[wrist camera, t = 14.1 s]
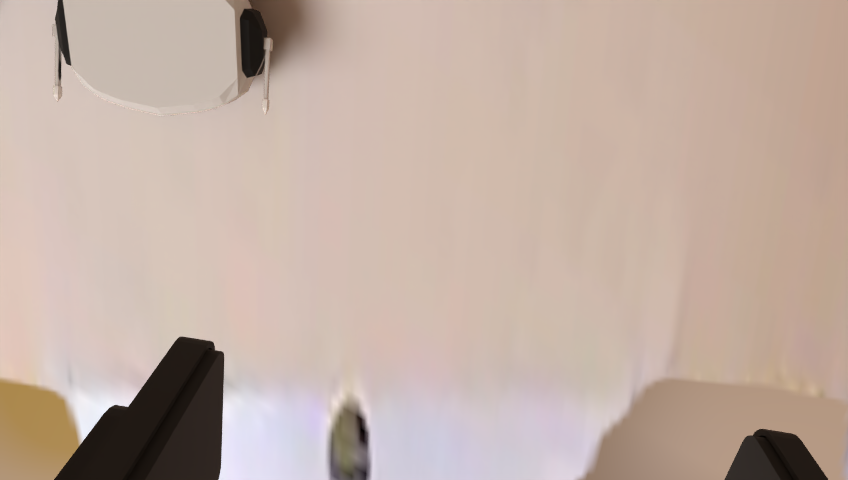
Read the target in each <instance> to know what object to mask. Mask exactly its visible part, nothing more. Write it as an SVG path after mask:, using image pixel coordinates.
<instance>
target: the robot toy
mask: <svg viewBox="0 0 848 480" xmlns="http://www.w3.org/2000/svg"><path fill="white" fill-rule="evenodd" d="M55 21H56V25H54V24H52V36H54V37H55V86H54V85H53V95H54V96H55V98H56V100H57V102H58V100H59V99H60V98H61V96H62V87H61V51H62V53H63V55H64V58H65V61H66V63H67V64H68V65H70V66H72V69H73V71H74V72H75V74H76V75H77V77H78V79H79V80H80V82H81V84H82V85H83V86H84V87H86V88H87V89H88V90H90V91H91V92H92V93H94V94H95V95H96V96H98V97H100V98H102V99H104V100H106V101H108V102H111V103H114V104H116V105H119V106H122V107H125V108H129V109H133V110H138V111H142V112H147V113H151V114H156V115H160V116H167V115H178V114H188V113H198V112H202V111H207V110H211V109H215V108H218V107H220V106H223V105H225V104H228V103H230V102H232V101H234V100H236V99H237V98H239V97H240V96H242V95H243V94H245V93H246V92H247V91H248V90H249V88H250V85H251V83H252V80H253V78H254V76H256V75H259V74H262V71H263V68H264V66H265V75H264V99H263V100H262V109H263V111H264V114H265V115H266V113H267V111H268V109H269V100H268V94H269V71H270V51H273V40H272V39H271V38H267V30H266V27H265V25H264V22H263V19H262V17H261V14H260V12H259V11H257V10H254V9H252V7H251V5H250V2H249V0H58V6H57V13H56V17H55Z"/></svg>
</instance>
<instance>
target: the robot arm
mask: <svg viewBox="0 0 848 480" xmlns="http://www.w3.org/2000/svg"><path fill="white" fill-rule="evenodd" d="M223 380H224V353H223V352H222V351H216V350H215V346H214V343H213V342H212V341H206V340H200V339H194V338H187V337H179V338H178V339H177V340H176V341H175V342H174V344H173V345H172V347H171V348H170V349H169V351H168V352H167V354H166V355H165V356H164V358H163V359H162V361H161V362H160V363H159V365H158V366H157V368H156V369H155V370H154V372H153V373H152V375H151V376H150V377H149V379H148V380H147V382H146V383H145V384H144V386H143V387H142V389H141V390H140V391H139V393H138V394H137V396H136V397H135V398H134V400H133V401H132V403H131V404H130V405H129V407H125V406H118V405H114V406H112V407H110V408H109V409H108V410H107V411H106V412H105V413H104V414H103V416H102V417H101V418H100V420H99V421H98V422H97V424H96V425H95V426H94V428H93V429H92V430H91V432H90V433H89V434H88V436H87V437H86V438H85V439H84V441H83V442H82V443H81V445H80V446H79V447H78V449H77V450H76V452H75V453H74V454H73V455H72V457H71V458H70V459H69V461H68V462H67V463H66V465H65V466H64V467H63V469H62V470H61V471H60V473H59V474H58V476H57V477H56V478H55V479H54V480H218V479H219V475H220V469H221V446H222V413H223ZM725 480H828V478H827V477H826V476H825V474H824V473H823V471H822V470H821V468H820V467H819V465H818V464H817V463H816V461H815V460H814V458H813V457H812V456H811V454H810V453H809V451H808V450H807V448H806V447H805V445H804V444H803V442H802V441H801V440H800V439H799V438H798V437H797V436H796V435H794V434H791V433H784V432H779V431H772V430H766V429H759V430H757V431H756V432H755V433H754V435H753V436H747V437H746V438H745V439H744V441H743V442H742V444H741V446H740V449H739V451H738V453H737V455H736V457H735V459H734V461H733V463H732V465H731V467H730V469H729V471H728V474H727V476H726V478H725Z"/></svg>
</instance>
